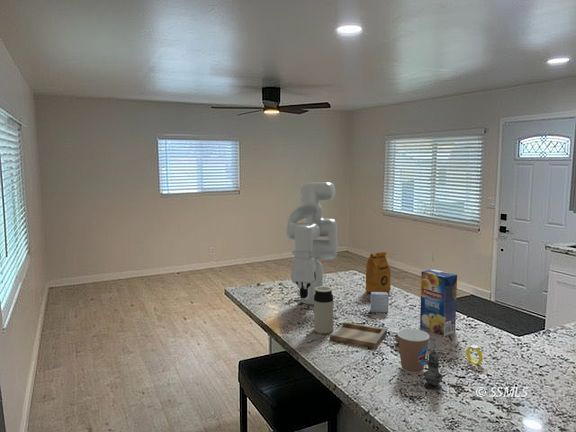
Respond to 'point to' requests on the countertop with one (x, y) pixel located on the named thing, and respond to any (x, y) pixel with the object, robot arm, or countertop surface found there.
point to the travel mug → (323, 309)
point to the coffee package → (377, 273)
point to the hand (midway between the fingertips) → (303, 297)
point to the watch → (478, 354)
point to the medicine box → (379, 302)
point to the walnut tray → (359, 335)
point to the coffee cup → (413, 349)
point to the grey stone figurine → (433, 372)
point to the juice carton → (438, 301)
